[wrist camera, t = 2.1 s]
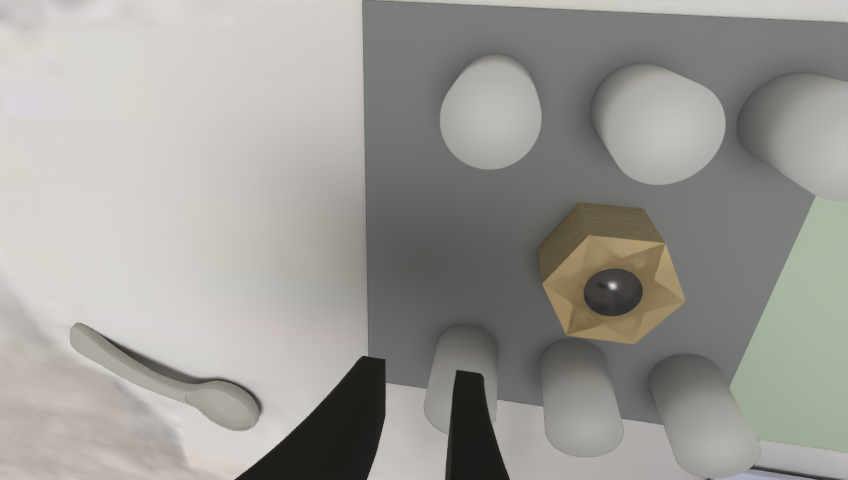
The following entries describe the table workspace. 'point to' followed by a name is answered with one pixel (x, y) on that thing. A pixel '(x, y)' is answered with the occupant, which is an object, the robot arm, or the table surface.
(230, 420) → the spoon
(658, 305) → the nut
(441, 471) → the table surface
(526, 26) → the spacer board
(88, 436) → the table surface
